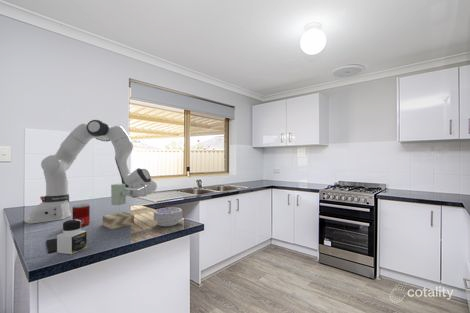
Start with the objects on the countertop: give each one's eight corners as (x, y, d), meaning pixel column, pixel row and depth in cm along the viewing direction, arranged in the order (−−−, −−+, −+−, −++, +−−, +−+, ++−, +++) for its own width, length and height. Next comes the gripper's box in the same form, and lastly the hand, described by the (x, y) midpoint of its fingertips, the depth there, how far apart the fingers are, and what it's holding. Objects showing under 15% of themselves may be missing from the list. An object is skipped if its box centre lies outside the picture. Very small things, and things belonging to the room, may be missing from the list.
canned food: (92, 223, 134) (92, 204, 134) (79, 227, 126) (79, 207, 126) (82, 222, 136) (82, 203, 136) (69, 226, 128) (69, 206, 129)
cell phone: (48, 254, 92) (48, 252, 92) (46, 242, 106) (46, 239, 106) (75, 248, 98) (75, 246, 98) (70, 237, 111) (70, 235, 111)
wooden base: (110, 229, 123) (110, 219, 123) (102, 224, 131) (102, 215, 131) (133, 224, 131) (133, 215, 131) (124, 220, 140) (124, 212, 140)
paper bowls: (167, 230, 121) (167, 214, 121) (147, 225, 129) (147, 211, 129) (188, 222, 134) (187, 208, 134) (169, 219, 142) (169, 206, 142)
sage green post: (111, 204, 130) (111, 184, 130) (118, 203, 134) (118, 183, 135) (118, 205, 128) (118, 184, 128) (125, 203, 133) (125, 183, 133)
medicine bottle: (72, 254, 91) (71, 223, 91) (56, 253, 92) (56, 222, 92) (87, 247, 98) (87, 218, 98) (72, 246, 99) (72, 217, 99)
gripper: (122, 184, 147) (103, 187, 134) (149, 185, 140) (131, 188, 127) (122, 194, 147) (103, 198, 134) (149, 196, 140) (131, 200, 127)
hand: (117, 193), depth 130 cm, fingers closed on sage green post, 5 cm apart
